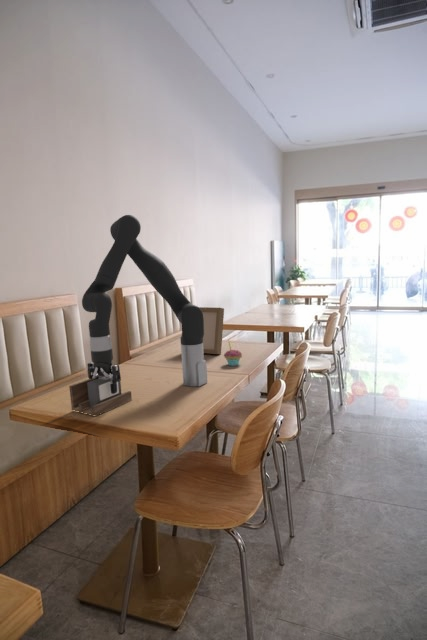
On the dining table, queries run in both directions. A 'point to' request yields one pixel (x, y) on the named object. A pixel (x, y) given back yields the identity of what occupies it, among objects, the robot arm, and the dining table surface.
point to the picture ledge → (82, 399)
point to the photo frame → (212, 329)
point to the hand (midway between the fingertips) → (105, 391)
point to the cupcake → (233, 356)
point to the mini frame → (101, 390)
